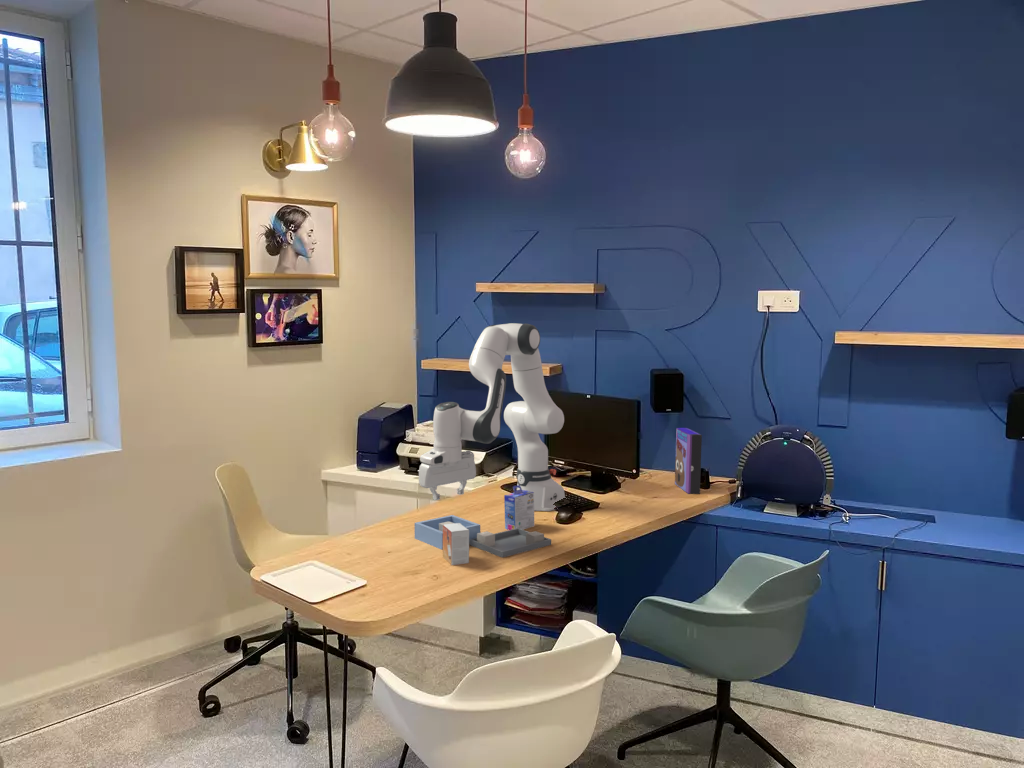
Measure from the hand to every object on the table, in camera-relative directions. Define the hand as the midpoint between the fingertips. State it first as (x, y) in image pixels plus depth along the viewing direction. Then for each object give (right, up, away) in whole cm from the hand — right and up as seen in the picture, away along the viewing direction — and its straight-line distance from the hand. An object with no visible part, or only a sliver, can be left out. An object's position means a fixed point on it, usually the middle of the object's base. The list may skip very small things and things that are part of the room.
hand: (448, 496), depth 257 cm
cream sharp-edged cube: (+12, -14, -4) cm, 19 cm away
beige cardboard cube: (0, -14, +1) cm, 14 cm away
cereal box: (+92, -7, +74) cm, 119 cm away
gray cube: (+27, -15, -4) cm, 31 cm away
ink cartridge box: (+23, -13, +16) cm, 31 cm away
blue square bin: (-1, -14, +1) cm, 14 cm away
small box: (+4, -17, -19) cm, 25 cm away
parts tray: (+20, -15, -4) cm, 25 cm away
